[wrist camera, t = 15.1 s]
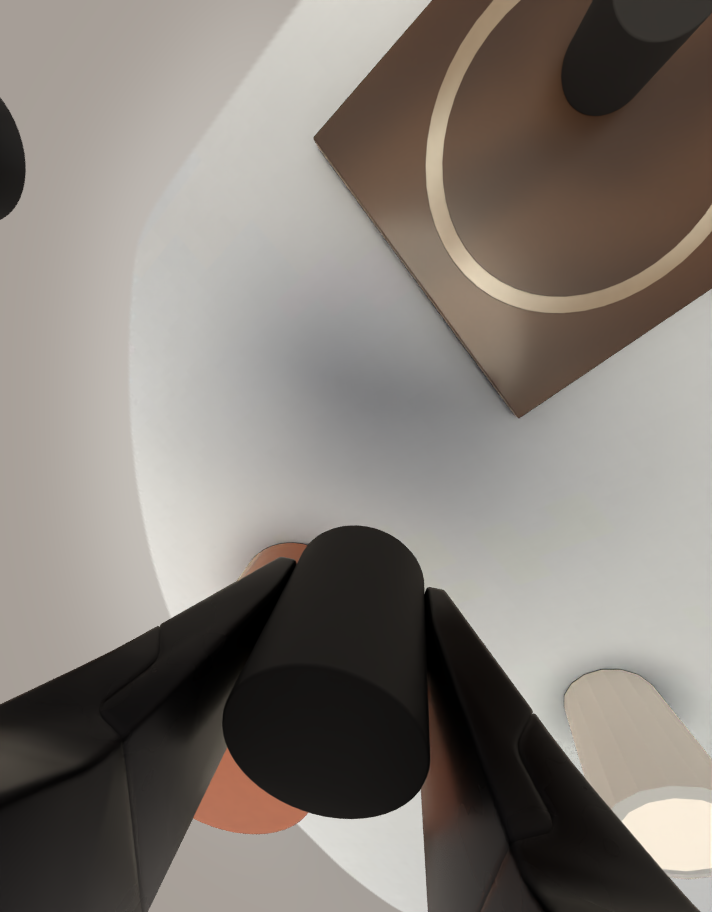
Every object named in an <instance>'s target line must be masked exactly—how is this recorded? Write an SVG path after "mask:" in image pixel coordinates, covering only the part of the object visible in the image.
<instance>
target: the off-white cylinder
mask: <svg viewBox="0 0 712 912" xmlns="http://www.w3.org/2000/svg"><path fill="white" fill-rule="evenodd" d="M564 708H565V712H566V715H567V719H568V722H569V726H570V729H571V732H572V736H573V739H574V743H575V746H576V749H577V753H578V756H579V760H580V763H581V766H582V770H583V773H584V777H585V779H586V780H587V781H588V782H589V784H590V785H591V786H592V787H593V788H594V790H595V791H596V792H597V793H598V794H599V796H600V797H601V798H602V799H603V800H604V802H605V803H606V804H607V805H608V806H609V807H610V809H611V810H612V811H613V812H614V813H615V814H616V816H617V817H618V818H619V819H620V820H621V821H622V823H623V824H624V825H625V826H626V827H627V828H628V830H629V831H630V832H631V833H632V834H633V835H634V837H635V838H636V839H637V840H638V841H639V843H640V844H641V845H642V846H643V847H644V848H645V850H646V851H647V852H648V853H649V854H650V855H651V857H652V858H653V859H654V860H655V861H656V862H657V864H658V865H659V866H660V867H661V868H662V869H663V871H664V872H665V873H666V874H667V875H668V876H669V878H678V879H696V878H705V877H712V759H711V757H710V756H709V755H708V754H707V752H706V751H705V750H704V749H703V748H702V746H701V745H700V744H699V743H698V741H697V740H696V739H695V738H694V736H693V735H692V734H691V733H690V731H689V730H688V729H687V728H686V726H685V725H684V724H683V723H682V721H681V720H680V719H679V718H678V717H677V715H676V714H675V713H674V712H673V710H672V709H671V708H670V707H669V705H668V704H667V703H666V702H665V700H664V699H663V698H662V697H661V695H660V694H659V693H658V692H657V690H656V689H655V688H654V687H653V686H652V684H650V683H649V682H648V681H646V680H645V679H644V678H642V677H641V676H639V675H637V674H634V673H630V672H627V671H624V670H599V671H596V672H592V673H589V674H585V675H583V676H582V677H580V678H579V679H578V680H576V681H575V682H573V683H572V684H571V685H570V687H569V689H568V690H567V692H566V694H565V695H564Z"/></svg>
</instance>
